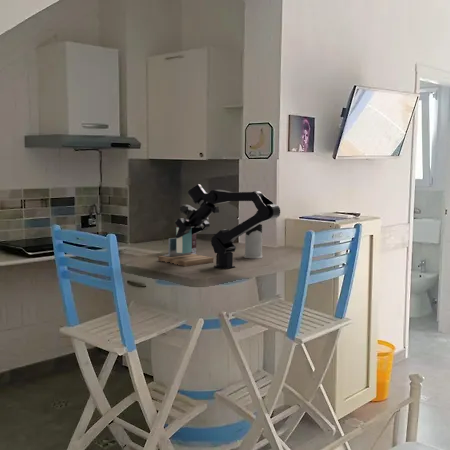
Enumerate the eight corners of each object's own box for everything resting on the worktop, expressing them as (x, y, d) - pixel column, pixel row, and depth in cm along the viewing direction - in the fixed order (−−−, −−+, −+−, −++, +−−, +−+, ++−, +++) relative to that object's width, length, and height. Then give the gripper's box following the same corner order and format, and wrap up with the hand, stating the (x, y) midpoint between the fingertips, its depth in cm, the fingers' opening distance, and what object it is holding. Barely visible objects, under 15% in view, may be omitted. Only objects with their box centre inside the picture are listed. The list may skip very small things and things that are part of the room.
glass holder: (247, 258, 270) (248, 225, 268) (237, 254, 283) (237, 222, 282) (265, 258, 273) (266, 225, 271) (254, 253, 286) (254, 222, 284)
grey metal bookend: (191, 254, 265) (191, 236, 265) (170, 257, 257) (170, 238, 256) (184, 253, 269) (184, 235, 268) (163, 255, 261) (163, 237, 260)
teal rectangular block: (191, 251, 258) (191, 226, 257) (182, 253, 253) (182, 227, 252) (185, 251, 260) (185, 226, 259) (176, 252, 255) (176, 227, 254)
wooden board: (213, 262, 258) (213, 257, 258) (185, 266, 247) (185, 261, 247) (186, 257, 271) (186, 252, 271) (158, 260, 260) (158, 256, 260)
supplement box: (175, 253, 282) (176, 220, 280) (181, 252, 286) (181, 219, 284) (191, 255, 277) (192, 221, 276) (196, 253, 282) (197, 220, 280)
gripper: (204, 197, 260) (183, 221, 267) (178, 199, 244) (157, 224, 251) (219, 216, 257) (197, 240, 264) (194, 219, 241) (172, 244, 248)
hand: (181, 236), depth 257 cm, fingers closed on teal rectangular block, 6 cm apart
